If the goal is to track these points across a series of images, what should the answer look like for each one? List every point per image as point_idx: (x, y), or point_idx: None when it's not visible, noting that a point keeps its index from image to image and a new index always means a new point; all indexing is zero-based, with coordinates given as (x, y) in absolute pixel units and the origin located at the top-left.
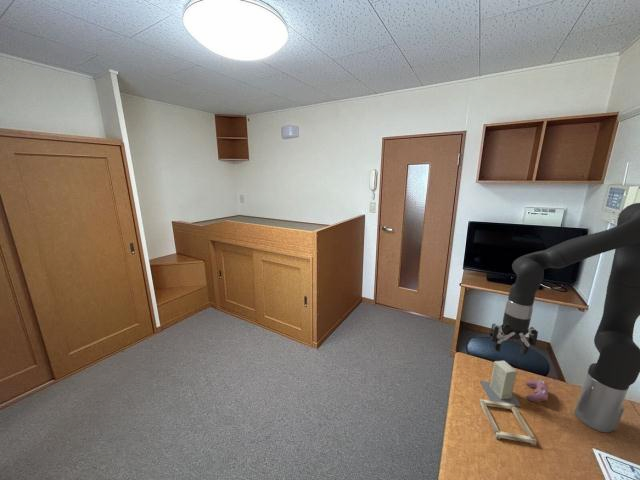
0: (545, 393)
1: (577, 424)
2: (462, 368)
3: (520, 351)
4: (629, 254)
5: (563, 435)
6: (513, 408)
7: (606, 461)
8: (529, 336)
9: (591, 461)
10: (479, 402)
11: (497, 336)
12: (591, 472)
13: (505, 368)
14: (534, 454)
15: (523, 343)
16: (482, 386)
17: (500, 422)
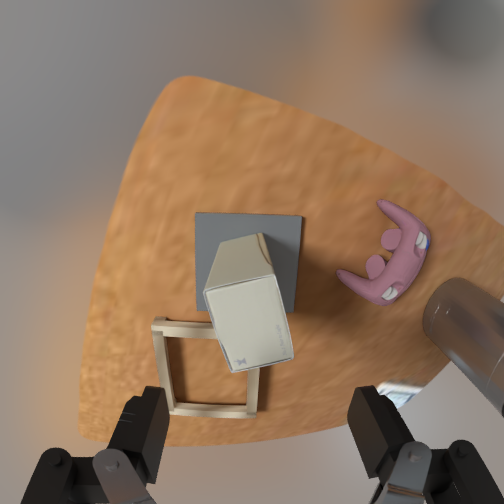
0: (391, 299)
1: (406, 332)
2: (152, 142)
3: (356, 395)
4: None
5: (345, 372)
6: None
7: None
8: (462, 496)
9: None
10: (154, 321)
11: (111, 496)
12: (330, 426)
13: (241, 344)
14: (239, 421)
15: (387, 463)
16: (195, 237)
17: (197, 368)
